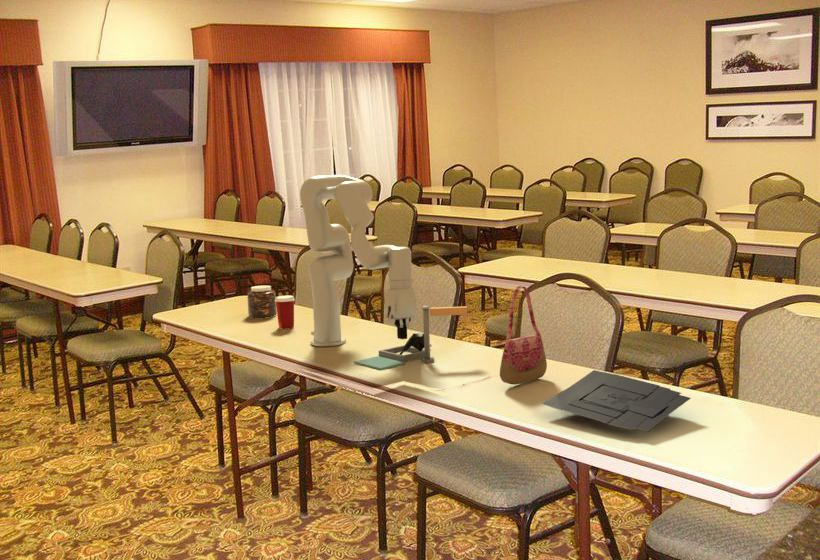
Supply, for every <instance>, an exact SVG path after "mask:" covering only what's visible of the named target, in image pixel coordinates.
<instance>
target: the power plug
mask: <svg viewBox="0 0 820 560" xmlns="http://www.w3.org/2000/svg"><path fill="white" fill-rule="evenodd" d="M410 347H414V348H415V349H417V350H419V351H421V350H423V349H424V332H419V333H413V334H412V335H410V337H409V339H408V340H407V341H406V342H405V344H404V347H403V349H402V351H400V353H399V354H400V355H403V354H404V353H406V352H408V351H407V350H408V349H409V348H410ZM431 347H432V344H431V343H430V352H431V351H432V349H431ZM432 348H433V347H432Z"/></svg>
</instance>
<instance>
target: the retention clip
mask: <svg viewBox="0 0 820 560" xmlns="http://www.w3.org/2000/svg"><path fill="white" fill-rule="evenodd" d="M421 309H422V310H423V309H429V317H441V316H443V317H444V316H462V318H461V319H462V322H469V321H468V306H464V305H462V306H443V307H442V306H441V307H440V306H439V307H430V305H423V306H422V305H421Z"/></svg>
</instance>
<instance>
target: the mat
mask: <svg viewBox="0 0 820 560" xmlns="http://www.w3.org/2000/svg"><path fill="white" fill-rule="evenodd" d="M353 363H354V364H356V365H359V366H364V367H366V368H371V369H374V370H379V371H383V370H387V369H388V370H389V369H392V368H395V367H400V366H403V365H406V362H401V361H396V360H392V359H389V358H385V357H381V356H379V355H377V356H373V357H369V358H364V359H359V360H355V361H353Z"/></svg>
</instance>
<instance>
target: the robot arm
mask: <svg viewBox="0 0 820 560" xmlns="http://www.w3.org/2000/svg"><path fill="white" fill-rule="evenodd" d="M373 195H374V194H373V189H372V187H371V186H370V184H369V183H368V182H367V181H365V180H362V179H359V178H354V177H351V176H348V175H343V174H330V175H329V174H328V175H326V174H325V175H315V176H311V177H309V178H307V179H305V181H304V182H303V183H302V185H301V187H300V191H299V198H300V200H299V201H300V203H301V206H302V207H301V208H302V211H303V214H304V221H305V228H306V234H307V239H308V240H307V242H308V245H309V246H308V247H310V248H309V249H311V251H312V252H314V253H327V252H330V253H331V254H327V255H320V256H317V257H315V258H313V259H312V260H310V262H309V264H308V268H307V273H308V278H309V280H310V281H309V282H310V287H311V295H312V296H311V297H312V308H313V309H312V310H313V311H312V312H313V331H311V332H310V335H312V336H313V339H311V340H310V345H312V346H314V347H336V346H340V345H343V344H345V343H346V341H347V339H346V338H345V337H343V336H342V326H341V325H342V324H341V307H340V306H341V305H340V294H339V290H338V288H337V285H336V284H335V282H337V281H341V280H345V279H346V280H347V279H348V278H350V277H351V276H352V274H353V271H354V258H353V253H354V255H355V256H356V258H357V260H358V262H359V263H360V265H361V266H362V267H364V268H365V269H366V270H370V271H371V270H377V269H378V270H379V269H383V268H388V280H389V281H388V283H389V285H388V288H387V291H386V296H385V318H387V319H388V320H387V322H388V323H389V324H394V326H395V327H396V334H397V335H396V336H397V339H399V340H407V339H408V327H409V324H410V322H411V321H413V320H415V319H416V315H417V302H416V294H415V289H414V287H413V283H414V281H415V280H414V279H413V274H412V272H413V271H412V268H413V267H412V250H411V248H410V247H408V246H395V245H392V244H383V245H382V244H381V245H376V246H372V245H371V243H370V242H369V240H368V238H367V236H366V228H368V227H369V225H371V224H372V223H373V221H374V219H375V217H374V214H373V212H372V211H371V209H370V207H369V205H368V204H369V203H371V202H372V199H373V197H374V196H373ZM325 200H336V203H337V204H338V206H339V208H340V209H341V211H342V213H343V215H344V217H345V218H346V220H347V222H348V224H349V225H350V227H351V231H350V235H349V232H348V230H347V229H346V227H345V226H344V225H342V224H340V223H331V222H330V214H329V212H328V209H327V207H326V205H325V204H324V203H323V201H325Z"/></svg>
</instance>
